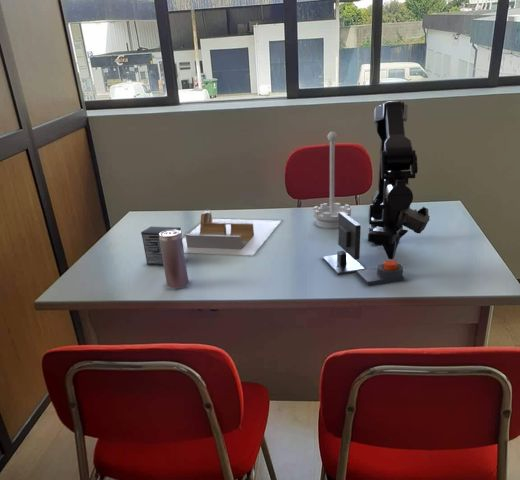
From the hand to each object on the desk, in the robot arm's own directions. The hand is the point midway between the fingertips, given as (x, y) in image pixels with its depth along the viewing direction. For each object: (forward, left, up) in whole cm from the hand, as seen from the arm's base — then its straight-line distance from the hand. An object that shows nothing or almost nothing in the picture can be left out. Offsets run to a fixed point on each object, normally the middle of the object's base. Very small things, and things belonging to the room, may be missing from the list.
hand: (390, 258), depth 137 cm
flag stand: (-2, -51, -6) cm, 51 cm away
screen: (+7, -13, -2) cm, 15 cm away
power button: (0, 0, -3) cm, 3 cm away
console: (+2, -1, -5) cm, 6 cm away
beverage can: (+55, -16, -6) cm, 58 cm away
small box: (+57, -35, -6) cm, 68 cm away
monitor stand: (+7, -13, -5) cm, 16 cm away
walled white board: (+35, -53, -6) cm, 64 cm away
